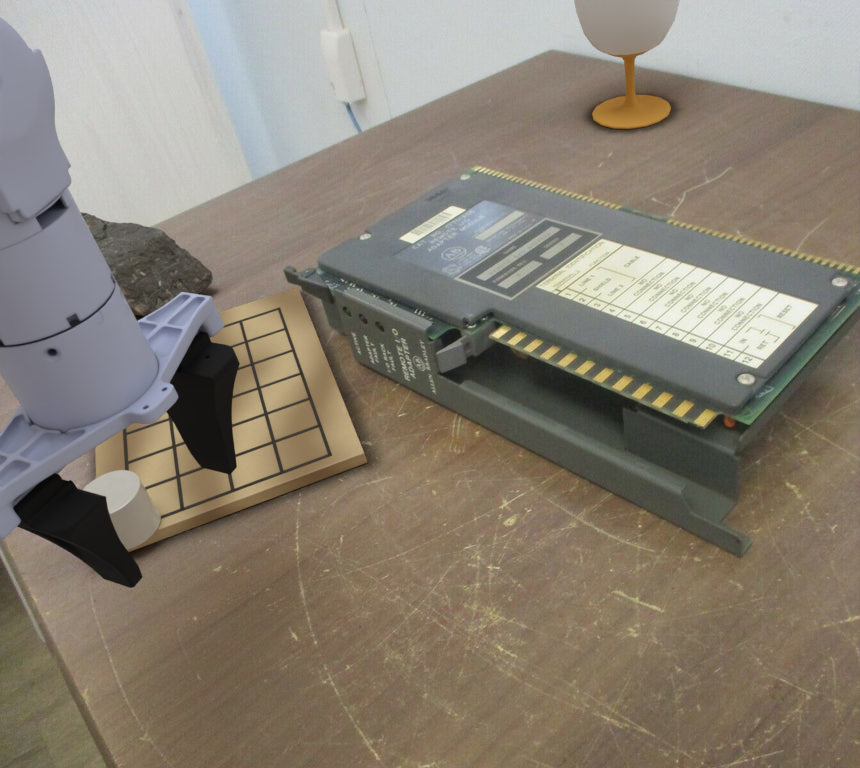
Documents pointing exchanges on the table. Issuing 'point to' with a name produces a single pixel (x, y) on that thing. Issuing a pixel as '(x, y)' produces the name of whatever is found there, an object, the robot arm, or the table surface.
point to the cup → (627, 52)
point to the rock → (147, 264)
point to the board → (249, 424)
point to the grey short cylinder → (127, 506)
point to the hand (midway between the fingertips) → (174, 519)
